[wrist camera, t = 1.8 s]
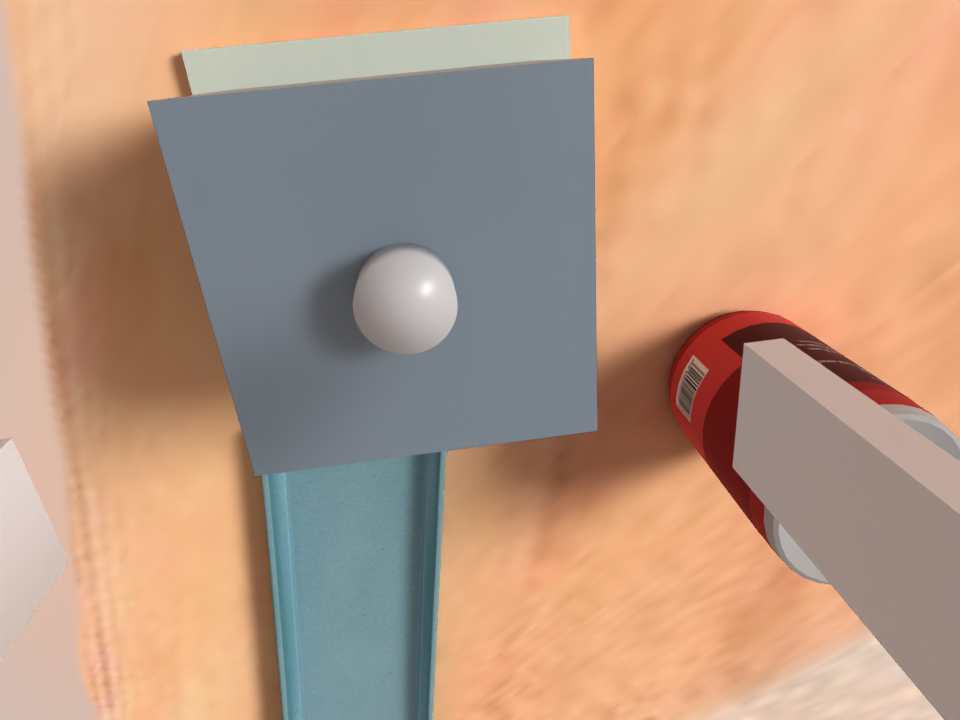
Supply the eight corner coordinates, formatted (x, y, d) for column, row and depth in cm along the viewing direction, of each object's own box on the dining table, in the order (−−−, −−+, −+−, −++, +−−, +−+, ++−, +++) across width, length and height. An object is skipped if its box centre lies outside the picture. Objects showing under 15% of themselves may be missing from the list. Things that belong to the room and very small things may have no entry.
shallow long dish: (263, 414, 32) (253, 441, 30) (445, 415, 33) (448, 440, 31) (293, 754, 43) (286, 792, 41) (429, 746, 44) (430, 782, 42)
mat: (185, 51, 25) (181, 51, 24) (565, 16, 26) (569, 14, 25) (272, 391, 31) (270, 397, 31) (574, 353, 32) (577, 358, 31)
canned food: (695, 463, 36) (806, 616, 26) (639, 353, 32) (742, 480, 23) (821, 397, 35) (988, 529, 25) (777, 277, 32) (949, 374, 22)
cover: (231, 89, 25) (124, 104, 15) (533, 60, 26) (609, 56, 16) (295, 365, 30) (245, 503, 21) (546, 334, 31) (609, 453, 21)
